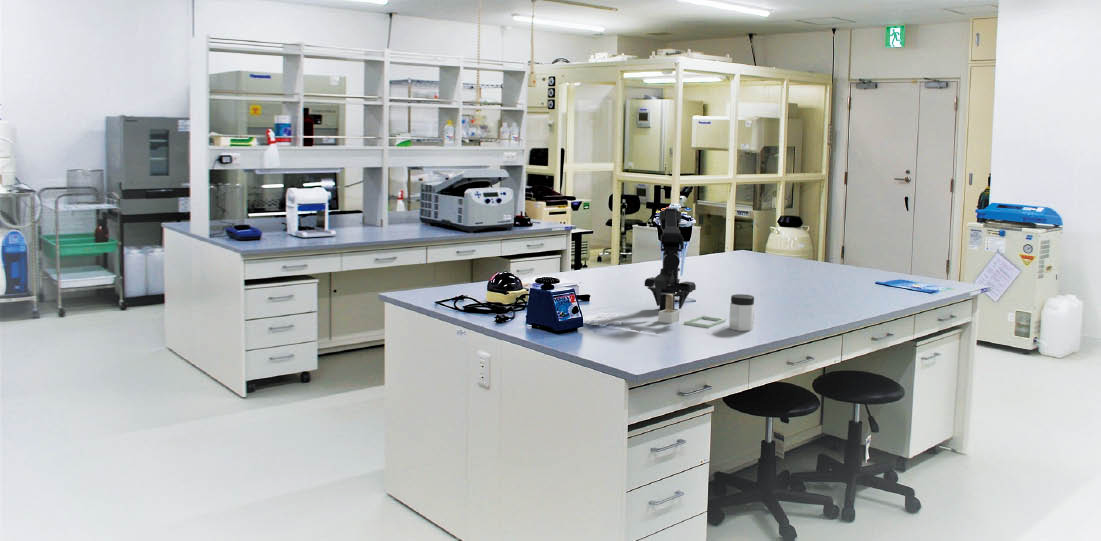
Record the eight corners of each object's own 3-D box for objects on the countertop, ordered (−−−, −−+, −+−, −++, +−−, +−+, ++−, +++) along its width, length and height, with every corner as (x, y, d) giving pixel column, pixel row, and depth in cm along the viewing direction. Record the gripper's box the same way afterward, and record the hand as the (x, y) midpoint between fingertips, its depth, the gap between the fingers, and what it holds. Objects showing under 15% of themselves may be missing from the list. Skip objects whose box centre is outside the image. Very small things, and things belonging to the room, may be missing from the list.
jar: (732, 325, 330) (734, 293, 328) (754, 327, 326) (756, 295, 324) (727, 329, 322) (728, 297, 320) (749, 332, 318) (751, 299, 316)
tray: (701, 320, 338) (701, 315, 337) (725, 323, 332) (726, 319, 332) (684, 326, 327) (684, 321, 326) (708, 330, 321) (708, 325, 320)
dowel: (667, 320, 333) (668, 293, 332) (673, 321, 332) (674, 294, 330) (663, 321, 331) (664, 294, 330) (670, 322, 330) (670, 295, 328)
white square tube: (665, 321, 335) (666, 309, 335) (678, 323, 332) (679, 311, 331) (658, 323, 331) (658, 311, 330) (671, 325, 328) (671, 313, 327)
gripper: (637, 265, 327) (636, 307, 330) (682, 270, 316) (680, 313, 319) (652, 262, 336) (651, 303, 339) (697, 267, 325) (695, 309, 328)
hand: (669, 307), depth 331 cm, fingers open, 9 cm apart
